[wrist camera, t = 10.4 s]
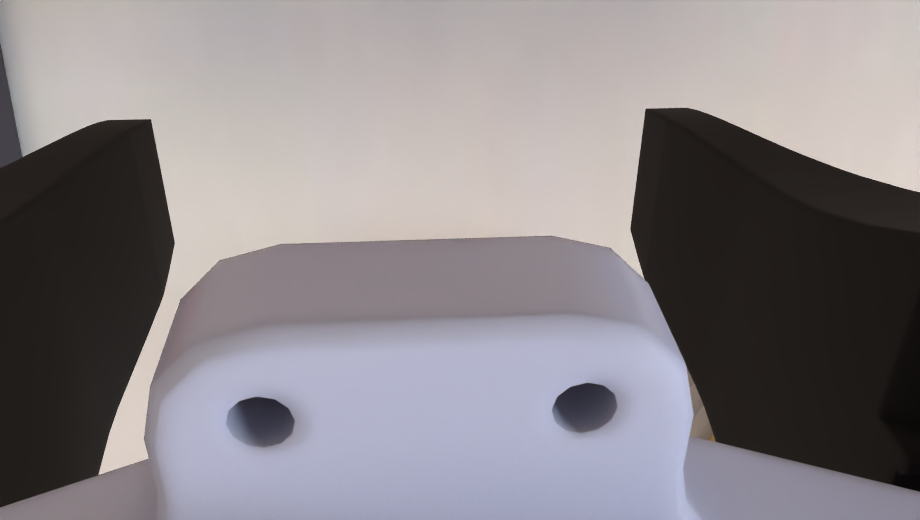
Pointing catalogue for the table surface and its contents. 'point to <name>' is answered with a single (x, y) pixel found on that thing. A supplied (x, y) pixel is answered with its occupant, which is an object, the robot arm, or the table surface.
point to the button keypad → (7, 122)
